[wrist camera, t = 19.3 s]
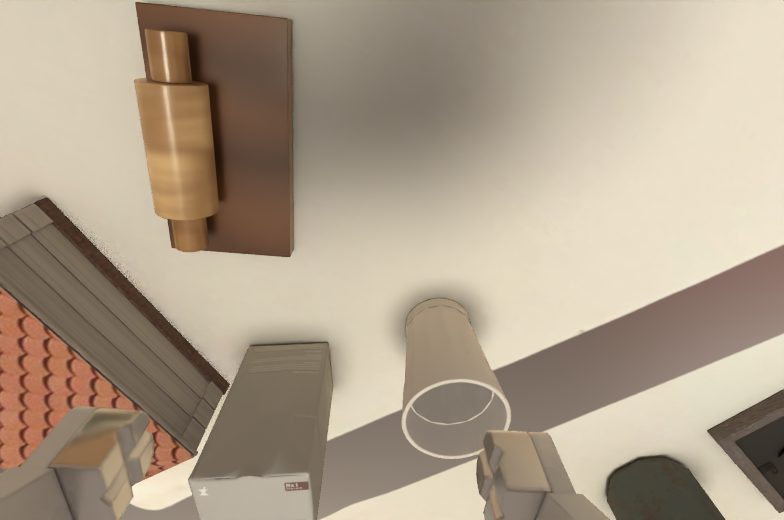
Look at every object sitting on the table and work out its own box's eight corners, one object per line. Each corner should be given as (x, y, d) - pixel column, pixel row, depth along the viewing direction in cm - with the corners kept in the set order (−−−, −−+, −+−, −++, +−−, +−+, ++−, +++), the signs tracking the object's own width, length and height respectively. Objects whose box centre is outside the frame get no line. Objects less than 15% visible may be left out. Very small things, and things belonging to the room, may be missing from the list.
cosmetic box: (258, 391, 45) (200, 548, 31) (247, 336, 42) (177, 483, 28) (338, 390, 45) (316, 545, 31) (333, 335, 42) (307, 480, 28)
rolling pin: (182, 32, 29) (112, 24, 26) (217, 36, 27) (145, 28, 24) (203, 230, 36) (150, 244, 33) (233, 247, 34) (178, 263, 31)
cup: (491, 303, 40) (530, 394, 30) (459, 365, 44) (484, 467, 33) (412, 281, 39) (423, 367, 29) (386, 347, 43) (387, 446, 32)
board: (146, 3, 29) (134, 1, 28) (291, 19, 30) (287, 18, 28) (179, 241, 37) (171, 248, 36) (293, 250, 38) (290, 257, 36)
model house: (-75, 278, 38) (-324, 402, 25) (45, 196, 35) (-164, 287, 22) (119, 438, 48) (15, 590, 34) (229, 384, 44) (162, 529, 31)
